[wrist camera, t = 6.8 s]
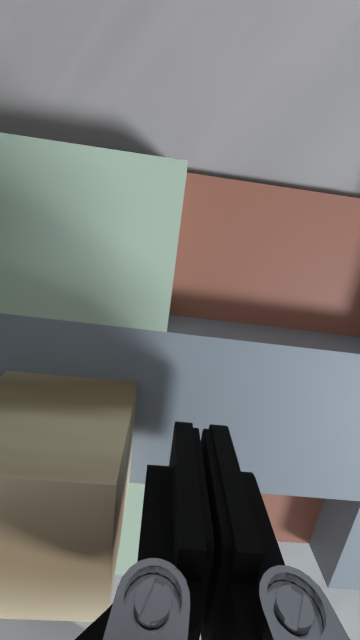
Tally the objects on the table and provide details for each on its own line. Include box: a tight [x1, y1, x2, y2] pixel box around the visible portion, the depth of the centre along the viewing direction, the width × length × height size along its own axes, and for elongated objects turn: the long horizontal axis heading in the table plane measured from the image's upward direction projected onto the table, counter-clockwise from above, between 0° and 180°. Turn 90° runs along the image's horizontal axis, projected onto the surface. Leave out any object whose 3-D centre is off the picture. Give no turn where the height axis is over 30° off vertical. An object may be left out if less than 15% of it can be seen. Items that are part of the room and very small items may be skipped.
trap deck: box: [0, 132, 360, 590], centre depth 12 cm, size 17×23×4 cm
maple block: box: [0, 371, 137, 622], centre depth 9 cm, size 4×4×4 cm
